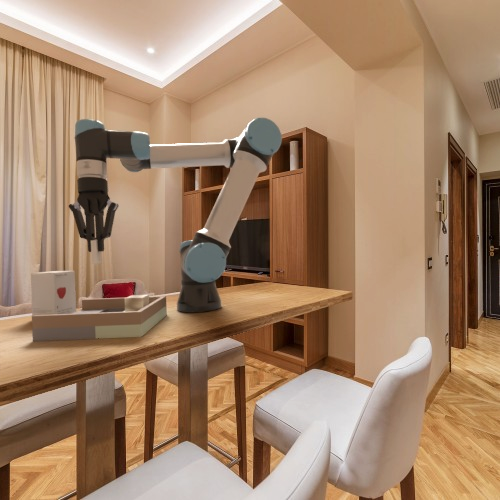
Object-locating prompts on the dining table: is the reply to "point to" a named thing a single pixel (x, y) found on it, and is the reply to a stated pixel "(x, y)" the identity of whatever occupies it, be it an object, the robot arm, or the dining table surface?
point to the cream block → (136, 302)
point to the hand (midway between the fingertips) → (96, 263)
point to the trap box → (100, 320)
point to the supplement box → (53, 292)
